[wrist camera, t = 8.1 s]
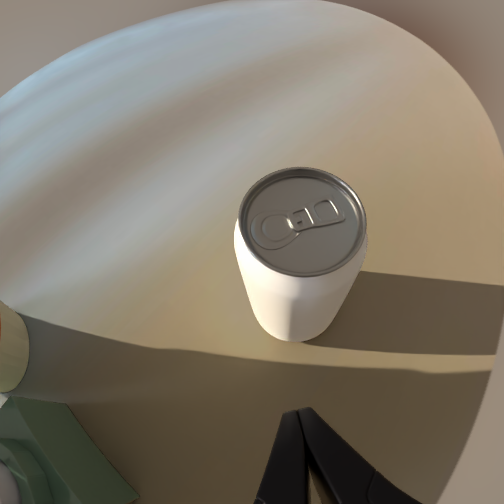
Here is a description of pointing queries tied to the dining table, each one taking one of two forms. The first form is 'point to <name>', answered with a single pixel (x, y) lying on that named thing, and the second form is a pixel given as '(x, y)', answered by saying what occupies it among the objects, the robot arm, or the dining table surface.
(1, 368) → the reusable coffee cup
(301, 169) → the can
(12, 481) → the white button cap
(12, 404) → the button housing
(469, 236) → the dining table surface
